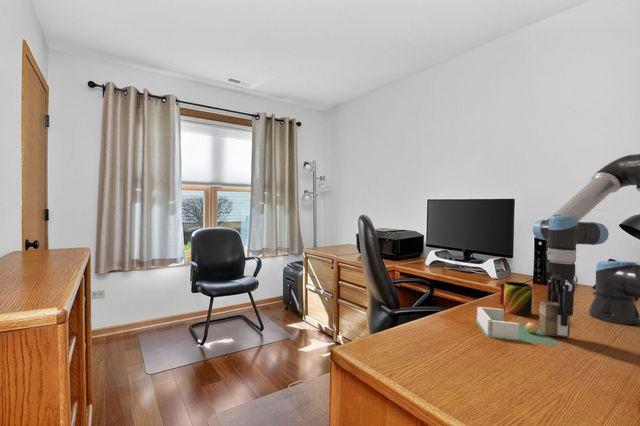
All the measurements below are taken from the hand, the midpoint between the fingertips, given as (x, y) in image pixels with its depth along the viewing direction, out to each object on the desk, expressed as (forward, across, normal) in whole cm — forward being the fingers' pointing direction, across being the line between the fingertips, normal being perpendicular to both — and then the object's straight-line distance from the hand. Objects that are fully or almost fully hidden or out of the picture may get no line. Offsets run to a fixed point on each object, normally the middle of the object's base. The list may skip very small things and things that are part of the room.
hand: (558, 331), depth 105 cm
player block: (+1, 0, -1) cm, 1 cm away
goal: (+1, 0, -18) cm, 18 cm away
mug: (+2, -26, -6) cm, 26 cm away
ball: (0, 0, -8) cm, 8 cm away
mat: (+2, 0, -13) cm, 13 cm away
